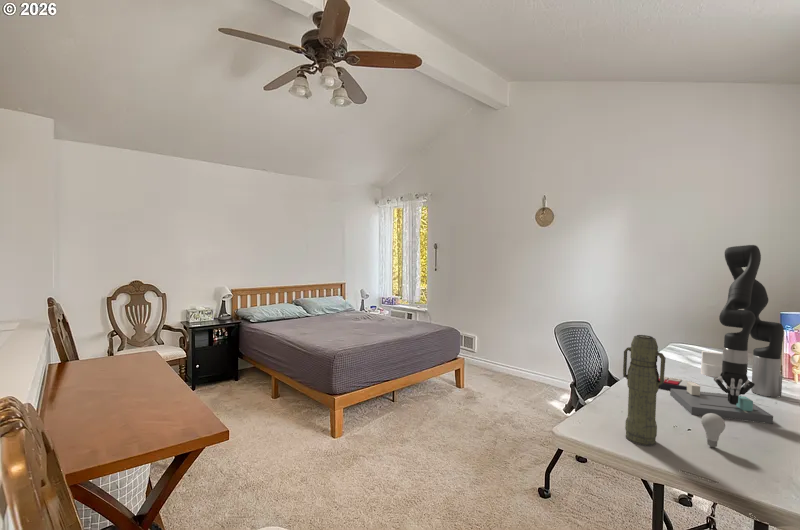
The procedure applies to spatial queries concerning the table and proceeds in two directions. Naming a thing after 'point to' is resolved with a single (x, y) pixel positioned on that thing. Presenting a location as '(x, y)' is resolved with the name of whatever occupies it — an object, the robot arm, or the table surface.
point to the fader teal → (745, 403)
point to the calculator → (673, 384)
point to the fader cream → (693, 388)
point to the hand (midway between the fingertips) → (732, 403)
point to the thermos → (643, 389)
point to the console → (718, 406)
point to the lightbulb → (712, 428)
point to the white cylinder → (711, 363)
